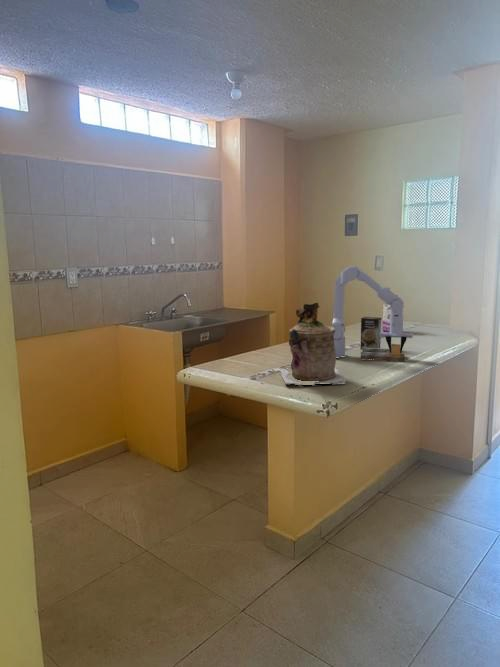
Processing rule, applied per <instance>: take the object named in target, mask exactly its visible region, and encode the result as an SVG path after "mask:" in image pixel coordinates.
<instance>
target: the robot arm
mask: <svg viewBox="0 0 500 667" xmlns="http://www.w3.org/2000/svg"><path fill="white" fill-rule="evenodd" d="M354 280H356V281H358V282H359V281H360V282H363V283H364V284H366V285H367V286H369V287H370V288H371V289H372V290H374V291H375V292H376V296H377V298H379V299H380V300H381V301H383V303H385V305H386V304H387V305H390V308H391V314H390V332H383V331H381V332H380V337H381V338H385V341H386V344H387V346H388V350H389V351H388V352H390V353H391V344H392V338H400V353H402V352H403V349H404V345H405V343H406V341H407V340H408V339H413V334H414V333H412V332H410V333H409V332H403V328H404V310H403V309H404V308H405V305H404V301H403V299H402V298H401V297H400V296H399V294H395V293H394V292H393V291H391V288H390V287H389V286H388V287H387V286H381V284H379V283H377V281H376V280H375V279H374V278H372V277H371V276H370V275H369V274H368V273H367V272H365V271H364V270H363V269H361V268H359V267H358V266H357V265H353V264H352V265H349V266H348V267H346V268H344V269H343V270H342V271H341V273H340V274H339V276H338V277H337V278H336V279H335V281H334V292H333V293H334V294H333V295H334V296H333V297H334V298H333V319H332V322H331V323H332V324H331V327H333V328H335V333H334V335H333V336H334V345H335V355H336V357H341V356H347V357H349V356H348V355H349V354H346V336H345V335H344V334H345V332H346V327H345V325H344V321H345V320H344V310H345V308H344V307H345V290H346V285H348V283H350V282H352V281H354ZM345 354H346V355H345Z"/></svg>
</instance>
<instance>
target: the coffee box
mask: <svg viewBox="0 0 500 667" xmlns="http://www.w3.org/2000/svg"><path fill="white" fill-rule="evenodd" d="M380 332H382V317H375V316H374V317H373V316H363V317H361V319H360V349H361V348H381V343H382V342H381V340H382V337H380Z"/></svg>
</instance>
